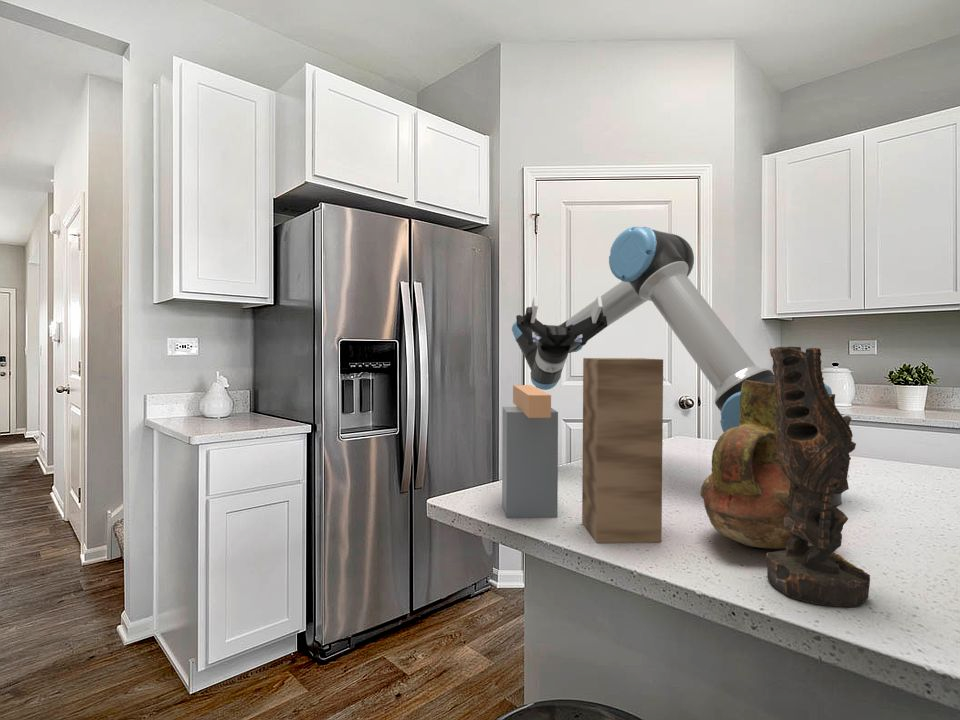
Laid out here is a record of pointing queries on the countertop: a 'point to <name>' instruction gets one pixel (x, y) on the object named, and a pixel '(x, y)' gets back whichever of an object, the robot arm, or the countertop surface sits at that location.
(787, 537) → the ceramic vessel
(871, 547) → the countertop surface
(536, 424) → the slate pedestal
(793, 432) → the statue
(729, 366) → the robot arm
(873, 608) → the countertop surface
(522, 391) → the bar
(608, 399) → the walnut stand
